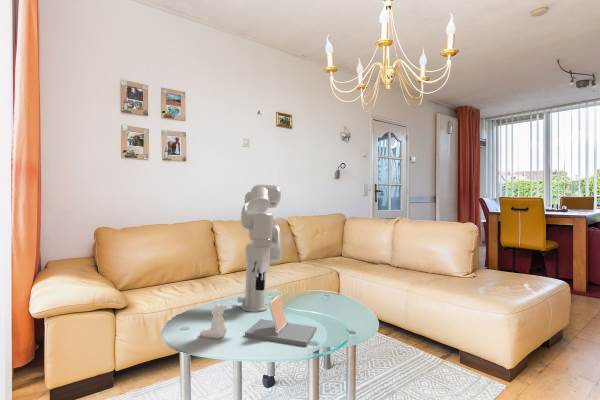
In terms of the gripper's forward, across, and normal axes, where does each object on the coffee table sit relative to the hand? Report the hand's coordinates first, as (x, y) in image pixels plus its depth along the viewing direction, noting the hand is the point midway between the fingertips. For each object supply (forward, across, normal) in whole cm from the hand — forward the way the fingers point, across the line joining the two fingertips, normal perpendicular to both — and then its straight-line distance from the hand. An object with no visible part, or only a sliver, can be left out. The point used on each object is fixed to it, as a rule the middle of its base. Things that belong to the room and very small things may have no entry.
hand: (259, 289), depth 130 cm
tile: (+8, -1, +7) cm, 11 cm away
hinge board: (+16, -1, +10) cm, 19 cm away
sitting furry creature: (+16, +10, -12) cm, 23 cm away
